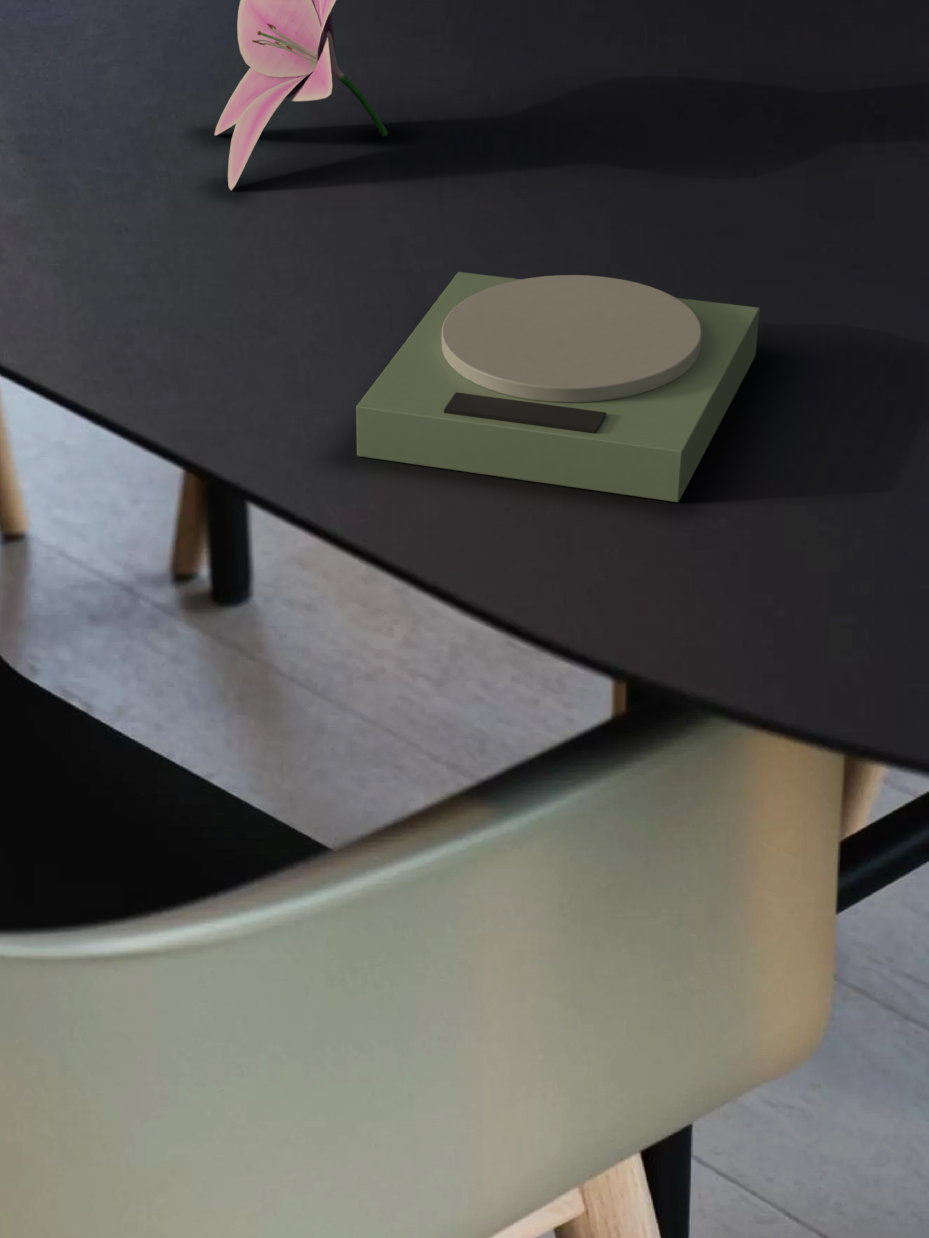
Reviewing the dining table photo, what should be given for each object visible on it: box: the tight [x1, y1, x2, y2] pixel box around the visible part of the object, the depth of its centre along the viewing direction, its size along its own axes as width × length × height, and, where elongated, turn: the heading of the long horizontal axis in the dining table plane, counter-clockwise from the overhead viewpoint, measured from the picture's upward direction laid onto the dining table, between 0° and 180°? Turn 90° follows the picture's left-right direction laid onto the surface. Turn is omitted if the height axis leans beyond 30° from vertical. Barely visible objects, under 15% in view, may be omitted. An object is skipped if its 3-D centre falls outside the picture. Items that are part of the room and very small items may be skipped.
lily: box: [214, 0, 389, 191], centre depth 113 cm, size 12×12×10 cm
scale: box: [355, 271, 761, 503], centre depth 94 cm, size 12×12×3 cm
